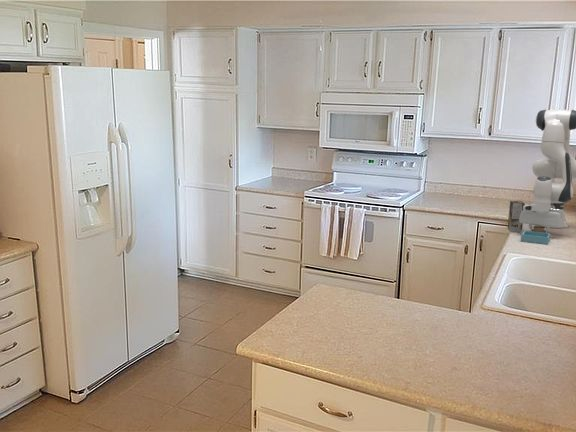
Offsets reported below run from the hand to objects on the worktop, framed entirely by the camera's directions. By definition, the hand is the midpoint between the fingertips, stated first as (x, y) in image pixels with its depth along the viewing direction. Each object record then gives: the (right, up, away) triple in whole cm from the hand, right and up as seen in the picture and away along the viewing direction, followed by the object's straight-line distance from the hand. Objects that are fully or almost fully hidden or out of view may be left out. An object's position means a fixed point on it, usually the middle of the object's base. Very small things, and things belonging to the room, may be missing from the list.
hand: (538, 233), depth 303 cm
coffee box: (-7, +1, +14) cm, 16 cm away
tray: (-6, -4, -11) cm, 13 cm away
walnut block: (0, -2, 0) cm, 2 cm away
